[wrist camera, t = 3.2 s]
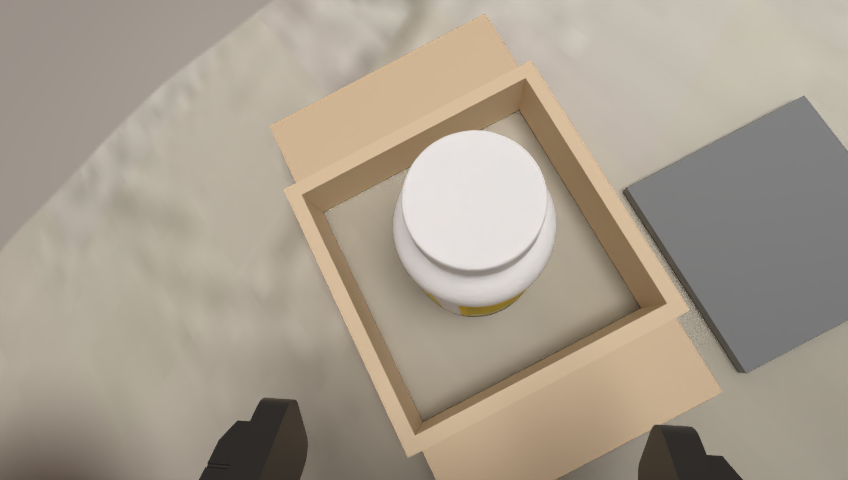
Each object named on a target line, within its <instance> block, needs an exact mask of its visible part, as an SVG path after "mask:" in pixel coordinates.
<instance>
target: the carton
mask: <svg viewBox="0 0 848 480" xmlns="http://www.w3.org/2000/svg"><path fill="white" fill-rule="evenodd" d="M518 110H520V112H521V113H522V115H523V117H524V118H525V120H526V121H527V123H528V125H529V126H530V128H531V130H532V131H533V133H534V134H535V136H536V138H537V139H538V141H539V143H540V144H541V146H542V148H543V149H544V151H545V152H546V154H547V156H548V157H549V159H550V161H551V162H552V164H553V165H554V167H555V169H556V170H557V172H558V174H559V175H560V177H561V178H562V180H563V182H564V183H565V185H566V187H567V188H568V190H569V192H570V193H571V195H572V196H573V198H574V200H575V201H576V203H577V205H578V206H579V208H580V209H581V211H582V213H583V214H584V216H585V218H586V219H587V221H588V223H589V224H590V226H591V227H592V229H593V231H594V232H595V234H596V236H597V237H598V239H599V240H600V242H601V244H602V245H603V247H604V249H605V250H606V252H607V254H608V255H609V257H610V258H611V260H612V262H613V263H614V265H615V267H616V268H617V270H618V271H619V273H620V275H621V276H622V278H623V280H624V281H625V283H626V284H627V286H628V288H629V289H630V291H631V293H632V294H633V296H634V298H635V299H636V301H637V302H638V304H639V306H640V307H641V308H640V309H639V310H637V311H635V312H633V313H631V314H629V315H627V316H625V317H623V318H621V319H619V320H618V321H616V322H614V323H612V324H610V325H608V326H606V327H604V328H602V329H600V330H598V331H596V332H595V333H593V334H591V335H589V336H587V337H585V338H583V339H581V340H579V341H577V342H575V343H574V344H572V345H570V346H568V347H566V348H564V349H562V350H560V351H558V352H556V353H554V354H553V355H551V356H549V357H547V358H545V359H543V360H541V361H539V362H537V363H535V364H533V365H532V366H530V367H528V368H526V369H524V370H522V371H520V372H518V373H516V374H514V375H512V376H511V377H509V378H507V379H505V380H503V381H501V382H499V383H497V384H495V385H493V386H491V387H489V388H488V389H486V390H484V391H482V392H480V393H478V394H476V395H474V396H472V397H470V398H468V399H467V400H465V401H463V402H461V403H459V404H457V405H455V406H453V407H451V408H449V409H447V410H446V411H444V412H442V413H440V414H438V415H436V416H434V417H432V418H430V419H428V420H426V421H425V422H423V421H422V419H421V417H420V415H419V413H418V411H417V409H416V407H415V405H414V403H413V400H412V398H411V396H410V394H409V392H408V390H407V388H406V386H405V384H404V382H403V380H402V377H401V375H400V373H399V371H398V369H397V367H396V365H395V363H394V361H393V359H392V357H391V354H390V352H389V350H388V348H387V346H386V344H385V342H384V340H383V338H382V336H381V333H380V331H379V329H378V327H377V325H376V323H375V321H374V319H373V317H372V315H371V313H370V310H369V308H368V306H367V304H366V302H365V300H364V298H363V296H362V294H361V292H360V290H359V287H358V285H357V283H356V281H355V279H354V277H353V275H352V273H351V271H350V269H349V266H348V264H347V262H346V260H345V258H344V256H343V254H342V252H341V250H340V248H339V246H338V243H337V241H336V239H335V237H334V235H333V233H332V231H331V229H330V227H329V225H328V223H327V220H326V218H325V216H324V214H323V212H324V211H326V210H328V209H330V208H332V207H334V206H336V205H338V204H340V203H341V202H343V201H345V200H347V199H349V198H351V197H353V196H355V195H357V194H359V193H361V192H363V191H364V190H366V189H368V188H370V187H372V186H374V185H376V184H378V183H380V182H382V181H384V180H386V179H387V178H389V177H391V176H393V175H395V174H397V173H399V172H401V171H403V170H405V169H407V168H409V167H410V166H411V165H412V164H413V162H414V161H415V160H416V158H417V157H418V156H419V155H420V154H421V153H422V152H423V151H424V150H425V149H426V148H427V147H428V146H430V145H431V144H432V143H434V142H435V141H437V140H439V139H441V138H443V137H445V136H447V135H450V134H453V133H457V132H461V131H469V130H481V129H483V128H485V127H487V126H489V125H491V124H493V123H495V122H497V121H499V120H501V119H502V118H504V117H506V116H508V115H510V114H512V113H514V112H516V111H518ZM269 127H270V129H271V131H272V133H273V135H274V137H275V140H276V142H277V144H278V146H279V148H280V150H281V152H282V154H283V157H284V159H285V161H286V163H287V165H288V167H289V169H290V171H291V173H292V176H293V178H294V180H295V182H296V183H295V184H293V185H291V186H289V187H287V188H285V189H284V191H285V194H286V196H287V198H288V200H289V202H290V204H291V207H292V209H293V211H294V213H295V215H296V217H297V220H298V222H299V224H300V226H301V228H302V230H303V233H304V235H305V237H306V239H307V241H308V243H309V245H310V248H311V250H312V252H313V254H314V256H315V258H316V261H317V263H318V265H319V267H320V269H321V271H322V274H323V276H324V278H325V280H326V282H327V284H328V287H329V289H330V291H331V293H332V295H333V297H334V300H335V302H336V304H337V306H338V308H339V310H340V312H341V315H342V317H343V319H344V321H345V323H346V325H347V328H348V330H349V332H350V334H351V336H352V338H353V341H354V343H355V345H356V347H357V349H358V351H359V354H360V356H361V358H362V360H363V362H364V364H365V366H366V369H367V371H368V373H369V375H370V377H371V379H372V382H373V384H374V386H375V388H376V390H377V392H378V395H379V397H380V399H381V401H382V403H383V405H384V408H385V410H386V412H387V414H388V416H389V418H390V421H391V423H392V425H393V427H394V429H395V431H396V433H397V436H398V438H399V440H400V442H401V444H402V446H403V449H404V451H405V453H406V455H407V457H408V458H409V457H411V456H413V455H415V454H417V453H419V452H421V451H422V452H423V454H424V456H425V458H426V460H427V462H428V464H429V467H430V469H431V471H432V473H433V475H434V477H435V479H436V480H556V479H558V478H560V477H562V476H564V475H566V474H567V473H569V472H571V471H573V470H575V469H577V468H579V467H581V466H583V465H585V464H587V463H588V462H590V461H592V460H594V459H596V458H598V457H600V456H602V455H604V454H606V453H608V452H609V451H611V450H613V449H615V448H617V447H619V446H621V445H623V444H625V443H627V442H629V441H630V440H632V439H634V438H636V437H638V436H640V435H642V434H644V433H646V432H648V431H650V430H651V429H652V427H653V426H654V425H661V424H663V423H665V422H667V421H669V420H670V419H672V418H674V417H676V416H678V415H680V414H682V413H684V412H686V411H688V410H690V409H691V408H693V407H695V406H697V405H699V404H701V403H703V402H705V401H707V400H709V399H711V398H712V397H714V396H716V395H718V394H720V393H722V392H723V391H722V390H721V388H720V387H719V385H718V383H717V382H716V380H715V379H714V377H713V375H712V374H711V372H710V371H709V369H708V367H707V366H706V364H705V363H704V361H703V359H702V358H701V356H700V355H699V353H698V352H697V350H696V348H695V347H694V345H693V344H692V342H691V340H690V339H689V337H688V336H687V334H686V332H685V331H684V329H683V328H682V326H681V324H680V323H679V321H678V320H677V317H679V316H681V315H682V314H684V313H686V312H688V311H690V309H689V307H688V306H687V304H686V303H685V301H684V300H683V298H682V296H681V295H680V293H679V292H678V290H677V289H676V287H675V285H674V284H673V282H672V281H671V279H670V278H669V276H668V274H667V273H666V271H665V270H664V268H663V267H662V265H661V263H660V262H659V260H658V259H657V257H656V256H655V254H654V252H653V251H652V249H651V248H650V246H649V245H648V243H647V241H646V240H645V238H644V237H643V235H642V234H641V232H640V230H639V229H638V227H637V226H636V224H635V223H634V221H633V219H632V218H631V216H630V215H629V213H628V212H627V210H626V208H625V207H624V205H623V204H622V202H621V201H620V199H619V198H618V196H617V194H616V193H615V191H614V190H613V188H612V187H611V185H610V183H609V182H608V180H607V179H606V177H605V176H604V174H603V172H602V171H601V169H600V168H599V166H598V165H597V163H596V161H595V160H594V158H593V157H592V155H591V154H590V152H589V150H588V149H587V147H586V146H585V144H584V143H583V141H582V139H581V138H580V136H579V135H578V133H577V132H576V130H575V128H574V127H573V125H572V124H571V122H570V121H569V119H568V117H567V116H566V114H565V113H564V111H563V110H562V108H561V106H560V105H559V103H558V102H557V100H556V99H555V97H554V95H553V94H552V92H551V91H550V89H549V88H548V86H547V84H546V83H545V81H544V80H543V78H542V77H541V75H540V73H539V72H538V70H537V69H536V67H535V66H534V64H533V63H532V61H529V62H527V63H525V64H523V65H521V66H518V65H517V63H516V62H515V60H514V58H513V57H512V55H511V54H510V52H509V50H508V49H507V47H506V46H505V44H504V42H503V41H502V39H501V38H500V36H499V35H498V33H497V31H496V30H495V28H494V27H493V25H492V23H491V22H490V20H489V19H488V17H487V15H486V14H483V15H481V16H479V17H478V18H476V19H474V20H472V21H470V22H468V23H466V24H464V25H462V26H460V27H458V28H456V29H455V30H453V31H451V32H449V33H447V34H445V35H443V36H441V37H439V38H437V39H435V40H433V41H432V42H430V43H428V44H426V45H424V46H422V47H420V48H418V49H416V50H414V51H412V52H410V53H408V54H407V55H405V56H403V57H401V58H399V59H397V60H395V61H393V62H391V63H389V64H387V65H385V66H384V67H382V68H380V69H378V70H376V71H374V72H372V73H370V74H368V75H366V76H364V77H362V78H361V79H359V80H357V81H355V82H353V83H351V84H349V85H347V86H345V87H343V88H341V89H339V90H337V91H336V92H334V93H332V94H330V95H328V96H326V97H324V98H322V99H320V100H318V101H316V102H314V103H313V104H311V105H309V106H307V107H305V108H303V109H301V110H299V111H297V112H295V113H293V114H291V115H289V116H288V117H286V118H284V119H282V120H280V121H278V122H276V123H274V124H272V125H270V126H269Z"/></svg>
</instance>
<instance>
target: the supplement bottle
mask: <svg viewBox="0 0 848 480" xmlns="http://www.w3.org/2000/svg"><path fill="white" fill-rule="evenodd" d="M556 227H557V225H556V213H555V207H554V204H553V201H552V198H551V195H550V193H549V191H548V189H547V187H546V183H545V179H544V177H543V174H542V172H541V170H540V168H539V166H538V164H537V163H536V161H535V160H534V159H533V157H532V156H531V155H530V154H529V153H528V152H527V151H526V150H525V149H524V148H523V147H522V146H520V145H519V144H517V143H516V142H514V141H513V140H511V139H509V138H507V137H505V136H502V135H500V134H497V133H493V132H489V131H482V130H469V131H461V132H457V133H453V134H450V135H447V136H445V137H443V138H441V139H439V140H437V141H435V142H434V143H432V144H431V145H430V146H428V147H427V148H426V149H425V150H424V151H423V152H422V153H421V154H420V155H419V156H418V157H417V158H416V160H415V161H414V162H413V164H412V165H411V167H410V169H409V171H408V173H407V176H406V178H405V181H404V184H403V188H402V190H401V192H400V195H399V197H398V200H397V203H396V207H395V211H394V216H393V236H394V242H395V247H396V250H397V253H398V256H399V258H400V260H401V262H402V264H403V266H404V267H405V269H406V271H407V272H408V274H409V275H410V276H411V277H412V279H413V280H414V281H415V282H416V283H417V284H418V285H419V286H420V287H421V288H422V289H423V291H424V292H426V294H427V295H428V296H429V297H430V298H431V299H432V300H433V301H435V302H436V303H437V304H438V305H440V306H441V307H443V308H445V309H446V310H448V311H450V312H453V313H455V314H459V315H463V316H470V317H479V316H486V315H491V314H494V313H497V312H499V311H501V310H503V309H505V308H507V307H508V306H510V305H511V304H512V303H514V302H515V301H516V300H517V299H518V298H519V297H520V296H521V295H522V294H523V293H524V292H525V290H526V289H527V288H528V287H529V286H530V285H531V284H532V283H533V282H534V281H535V280H536V279H537V278H538V277H539V275H540V274H541V272H542V271H543V269H544V268H545V266H546V264H547V262H548V260H549V258H550V255H551V252H552V249H553V246H554V242H555V237H556Z"/></svg>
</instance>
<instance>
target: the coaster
mask: <svg viewBox="0 0 848 480" xmlns="http://www.w3.org/2000/svg"><path fill="white" fill-rule="evenodd" d="M623 193H624V194H625V196H626V197H627V199H628V200H629V202H630V204H631V205H632V207H633V208H634V210H635V211H636V213H637V215H638V216H639V218H640V219H641V221H642V222H643V224H644V225H645V227H646V229H647V230H648V232H649V233H650V235H651V236H652V238H653V239H654V241H655V243H656V244H657V246H658V247H659V249H660V250H661V252H662V253H663V255H664V257H665V258H666V260H667V261H668V263H669V264H670V266H671V268H672V269H673V271H674V272H675V274H676V275H677V277H678V278H679V280H680V282H681V283H682V285H683V286H684V288H685V289H686V291H687V292H688V294H689V296H690V297H691V299H692V300H693V302H694V303H695V305H696V307H697V308H698V310H699V311H700V313H701V314H702V316H703V317H704V319H705V321H706V322H707V324H708V325H709V327H710V328H711V330H712V331H713V333H714V335H715V336H716V338H717V339H718V341H719V342H720V344H721V345H722V347H723V349H724V350H725V352H726V353H727V355H728V356H729V358H730V360H731V361H732V363H733V364H734V366H735V367H736V369H737V370H738V372H740V373H748V372H750V371H752V370H754V369H756V368H757V367H759V366H761V365H763V364H765V363H767V362H769V361H771V360H773V359H775V358H777V357H778V356H780V355H782V354H784V353H786V352H788V351H790V350H792V349H794V348H796V347H798V346H799V345H801V344H803V343H805V342H807V341H809V340H811V339H813V338H815V337H817V336H819V335H820V334H822V333H824V332H826V331H828V330H830V329H832V328H834V327H836V326H838V325H840V324H841V323H843V322H845V321H847V320H848V151H847V150H846V148H845V147H844V146H843V145H842V143H841V142H840V141H839V139H838V138H837V137H836V136H835V134H834V133H833V132H832V130H831V129H830V128H829V127H828V125H827V124H826V123H825V121H824V120H823V119H822V118H821V116H820V115H819V114H818V112H817V111H816V110H815V109H814V107H813V106H812V105H811V103H810V102H809V101H808V100H807V98H806V97H805V96H802V97H800V98H798V99H796V100H794V101H793V102H791V103H789V104H787V105H785V106H783V107H781V108H779V109H777V110H775V111H773V112H772V113H770V114H768V115H766V116H764V117H762V118H760V119H758V120H756V121H754V122H752V123H750V124H749V125H747V126H745V127H743V128H741V129H739V130H737V131H735V132H733V133H731V134H729V135H728V136H726V137H724V138H722V139H720V140H718V141H716V142H714V143H712V144H710V145H708V146H706V147H705V148H703V149H701V150H699V151H697V152H695V153H693V154H691V155H689V156H687V157H685V158H683V159H682V160H680V161H678V162H676V163H674V164H672V165H670V166H668V167H666V168H664V169H662V170H661V171H659V172H657V173H655V174H653V175H651V176H649V177H647V178H645V179H643V180H641V181H639V182H638V183H636V184H634V185H632V186H630V187H628V188H627V189H625V190H624V191H623Z"/></svg>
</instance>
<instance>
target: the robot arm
mask: <svg viewBox="0 0 848 480" xmlns="http://www.w3.org/2000/svg"><path fill="white" fill-rule="evenodd" d="M307 448H308V441H307V435H306V431H305V428H304V424H303V421H302V417H301V413H300V410H299V406H298V403H297V401H296V400H291V399H276V398H263V399H262V400H261V401H260V402H259V404H258V406H257V408H256V410H255V412H254V414H253V416H252V418H251V421H237V422H236V423H235V424H234V425H233V426H232V427H231V428H230V429H229V430H228V431H227V432H226V433H225V434H224V435H223V436H222V438H221V439H220V440H219V441H218V443H217V445H216V447H215V449H214V451H213V453H212V455H211V457H210V459H209V461H208V466H207V468H205V469H204V471H203V473H202V475H201V477H200V479H199V480H300V478H301V475H302V472H303V468H304V465H305V461H306V457H307ZM638 480H742V478H741V477H740V476H739V475H738V474H737V473H736V471H735V470H734V469H733V468H732V467H731V466H730V465H729V463H728V462H727V461H726V460H725V459H724V458H723V456H712V455H706V452H705V450H704V447H703V445H702V442H701V440H700V437H699V435H698V433H697V432H696V430H695V429H694V428H693V427H687V426H672V425H654V426H653V427H652V429H651V432H650V435H649V437H648V440H647V443H646V446H645V449H644V451H643V454H642V457H641V460H640V463H639V468H638Z"/></svg>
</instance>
